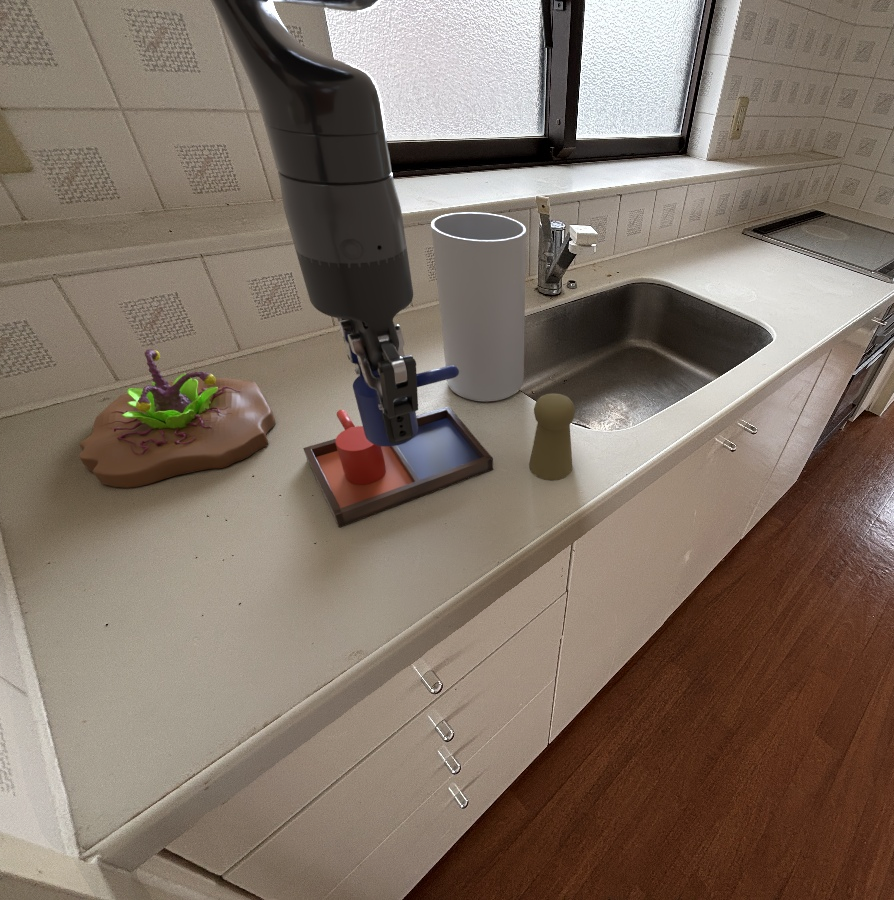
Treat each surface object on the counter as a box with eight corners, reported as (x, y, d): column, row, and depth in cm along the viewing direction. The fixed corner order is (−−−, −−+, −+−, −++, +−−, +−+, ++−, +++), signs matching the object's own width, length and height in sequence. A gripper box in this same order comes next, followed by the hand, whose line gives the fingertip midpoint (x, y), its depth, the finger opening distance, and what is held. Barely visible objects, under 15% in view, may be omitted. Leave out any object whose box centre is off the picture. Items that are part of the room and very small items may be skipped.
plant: (271, 380, 77) (246, 312, 70) (280, 457, 64) (251, 384, 57) (102, 406, 68) (54, 331, 61) (75, 501, 55) (10, 420, 48)
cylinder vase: (522, 364, 89) (524, 216, 73) (525, 403, 80) (527, 244, 64) (450, 362, 87) (435, 209, 71) (444, 403, 77) (426, 237, 61)
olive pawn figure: (545, 486, 66) (549, 419, 59) (520, 460, 69) (521, 394, 62) (581, 469, 69) (588, 404, 62) (555, 446, 72) (560, 382, 65)
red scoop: (391, 476, 63) (384, 442, 59) (352, 490, 60) (342, 455, 57) (366, 435, 68) (358, 402, 65) (329, 446, 66) (318, 412, 62)
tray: (338, 527, 57) (334, 515, 55) (307, 460, 64) (303, 447, 63) (493, 469, 67) (492, 457, 66) (450, 417, 75) (448, 406, 73)
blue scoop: (374, 452, 45) (362, 403, 42) (358, 424, 48) (345, 376, 44) (472, 422, 50) (468, 375, 47) (452, 398, 53) (447, 352, 49)
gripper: (440, 268, 34) (459, 453, 45) (372, 208, 42) (402, 378, 53) (322, 284, 30) (375, 483, 41) (272, 215, 39) (327, 396, 50)
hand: (390, 423), depth 47 cm, fingers closed on blue scoop, 4 cm apart
